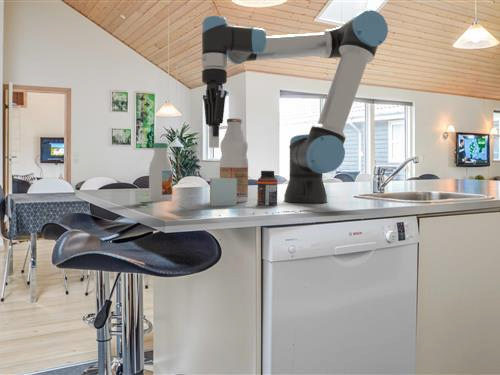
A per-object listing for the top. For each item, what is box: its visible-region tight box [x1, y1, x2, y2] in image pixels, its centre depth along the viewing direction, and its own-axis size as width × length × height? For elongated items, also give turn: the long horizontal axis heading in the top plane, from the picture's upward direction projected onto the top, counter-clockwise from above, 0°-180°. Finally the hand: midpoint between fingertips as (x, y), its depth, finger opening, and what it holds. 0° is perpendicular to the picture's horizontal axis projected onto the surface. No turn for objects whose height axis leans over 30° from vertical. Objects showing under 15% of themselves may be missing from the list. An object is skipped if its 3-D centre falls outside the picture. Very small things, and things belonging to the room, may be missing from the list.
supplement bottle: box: [257, 170, 278, 207], centre depth 134 cm, size 6×6×11 cm
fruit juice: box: [219, 118, 249, 203], centre depth 147 cm, size 9×9×28 cm
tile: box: [209, 177, 238, 206], centre depth 131 cm, size 8×2×8 cm, turn 118°
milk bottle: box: [148, 142, 173, 203], centre depth 149 cm, size 8×8×20 cm
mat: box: [178, 204, 254, 211], centre depth 126 cm, size 18×13×1 cm
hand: (213, 147), depth 136 cm, fingers closed
